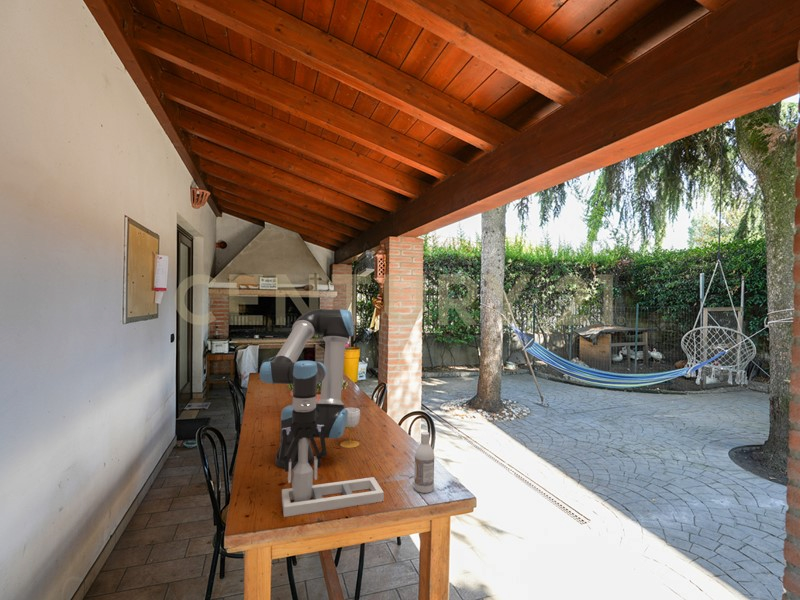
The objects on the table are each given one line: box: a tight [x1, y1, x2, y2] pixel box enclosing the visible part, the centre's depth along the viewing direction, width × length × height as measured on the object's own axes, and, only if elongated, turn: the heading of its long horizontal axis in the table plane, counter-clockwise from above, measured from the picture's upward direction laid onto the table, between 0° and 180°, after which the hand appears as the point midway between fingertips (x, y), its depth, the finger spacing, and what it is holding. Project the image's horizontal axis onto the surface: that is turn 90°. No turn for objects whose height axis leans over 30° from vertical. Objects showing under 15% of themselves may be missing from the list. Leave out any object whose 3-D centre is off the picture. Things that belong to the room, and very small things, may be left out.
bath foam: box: [413, 431, 435, 494], centre depth 140 cm, size 7×7×20 cm
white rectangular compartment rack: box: [281, 476, 385, 518], centre depth 131 cm, size 32×12×3 cm, turn 110°
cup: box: [339, 407, 361, 449], centre depth 182 cm, size 9×9×16 cm
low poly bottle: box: [291, 438, 314, 503], centre depth 128 cm, size 6×6×22 cm
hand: (302, 479), depth 127 cm, fingers open, 8 cm apart
